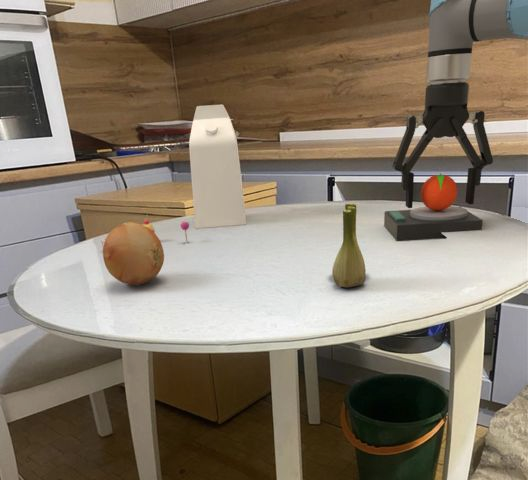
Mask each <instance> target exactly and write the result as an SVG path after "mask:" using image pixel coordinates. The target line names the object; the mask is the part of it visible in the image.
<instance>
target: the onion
mask: <svg viewBox="0 0 528 480" xmlns="http://www.w3.org/2000/svg"><path fill="white" fill-rule="evenodd" d="M105 239H106V240H105V243H104V246H103V247H102V258H103V262H104V265H105V268H106V269H107V271H108V273H109V274H110V275H111V276H112V277H113V278H114V279H116V280H117V281H119V282H121V283H123V284H127V285H134V286H135V285H138V286H139V285H142V284H144V283H146V282H148V281H150V280H152V279H153V278H155V277H157V275H159V273H160V272H161V270H162V268H163V266H164V262H165V254H164V253H165V252H164V248H163V244H162V242H161V240H160V238H159V237H158V235H157V234H156V232H155V233H154V232H153V231H152V230H150V229H149V228H147V227H146V226H144V224H142V223H138V222H133V221H132V222H129V221H127V222H124V223H121V224H119V225H117V226H116V227H114V228H113V229H112V230H111V231H110V232H109V233H108V234H107V235H106V238H105Z"/></svg>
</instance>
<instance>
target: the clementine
mask: <svg viewBox="0 0 528 480" xmlns="http://www.w3.org/2000/svg"><path fill="white" fill-rule="evenodd" d="M457 196H458V186H457V183H456V181H455V179H453V178H452V177H450V176H449V175H447V174H442V173H439V174H435V175H432V176H430V177H429V178H427V179H426V180H425V182H424V183H423V184H422V187H421V190H420V198H421V201H422V203H423V205H424V207H428V208H429V209H431V210H434V211H441V210H444V209H446V208H448V207H449V206H453V204H454V203H455V201H456V199H457Z"/></svg>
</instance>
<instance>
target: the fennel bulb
mask: <svg viewBox="0 0 528 480" xmlns="http://www.w3.org/2000/svg"><path fill="white" fill-rule="evenodd" d="M365 263H366V262H365V259H364V256H363V254H362V251H361V248H360V246H359V243H358V239H357V204H356V203H345V205H344V209H343V210H342V244H341V246H340V248H339V250H338V252H337V254H336V257H335V259H334V262H333V266H332V270H331V271H332V272H331V273H332V278H333V281H334V283H335V284H336V285H337V286H338V287H341V288H355V287H358V286H362V285H363V284H364V282H365V281H366V279H367V275H366V272H367V271H366V270H367V269H366V264H365Z"/></svg>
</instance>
